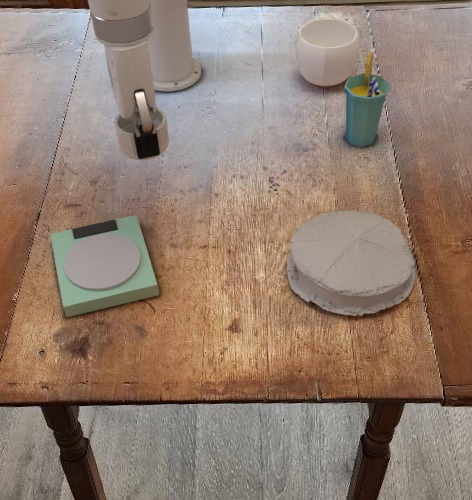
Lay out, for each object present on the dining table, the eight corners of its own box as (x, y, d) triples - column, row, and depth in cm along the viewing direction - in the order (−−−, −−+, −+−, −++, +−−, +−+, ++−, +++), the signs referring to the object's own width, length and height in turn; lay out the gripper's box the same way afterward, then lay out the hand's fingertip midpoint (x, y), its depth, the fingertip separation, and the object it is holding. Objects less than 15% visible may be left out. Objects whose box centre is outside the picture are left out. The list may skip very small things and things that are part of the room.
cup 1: (358, 64, 139) (363, 17, 131) (353, 98, 131) (359, 51, 124) (298, 60, 140) (299, 14, 133) (290, 94, 133) (291, 47, 125)
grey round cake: (264, 245, 108) (263, 213, 102) (375, 210, 112) (380, 177, 106) (320, 337, 96) (323, 306, 91) (441, 294, 100) (451, 262, 95)
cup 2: (389, 164, 119) (402, 87, 107) (344, 166, 119) (353, 89, 107) (376, 117, 127) (387, 40, 115) (335, 119, 127) (342, 43, 115)
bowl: (115, 137, 102) (110, 110, 98) (163, 127, 103) (159, 100, 99) (125, 166, 97) (119, 139, 94) (174, 155, 98) (171, 128, 95)
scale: (53, 244, 109) (49, 231, 107) (138, 225, 111) (136, 211, 109) (66, 317, 100) (61, 304, 98) (159, 295, 102) (156, 281, 100)
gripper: (82, -5, 90) (107, 112, 104) (105, 61, 79) (129, 181, 93) (137, -15, 91) (155, 102, 105) (167, 49, 81) (182, 170, 94)
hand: (142, 139), depth 99 cm, fingers closed on bowl, 7 cm apart
